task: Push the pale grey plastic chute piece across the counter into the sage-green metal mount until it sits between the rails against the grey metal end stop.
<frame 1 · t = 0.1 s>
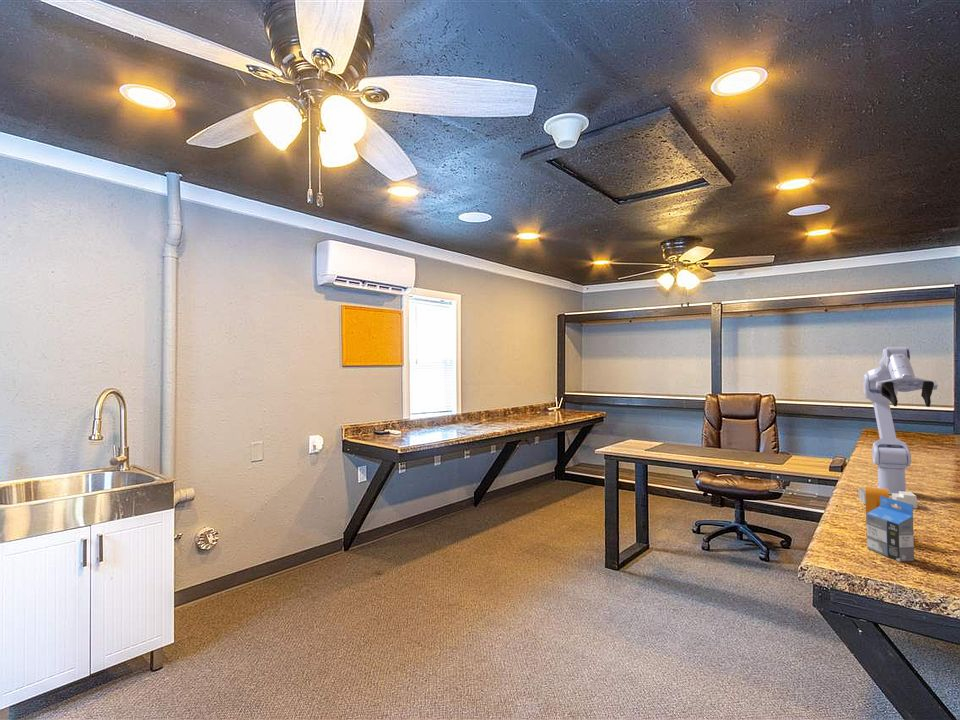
hand: (912, 404, 153), 32 cm above the counter, tool tilted 50°, fingers open, 7 cm apart
chute mount: (877, 502, 164), on the counter
ink cartridge box: (890, 555, 117), on the counter
chute piece: (904, 506, 160), on the counter
bracket: (884, 537, 130), on the counter
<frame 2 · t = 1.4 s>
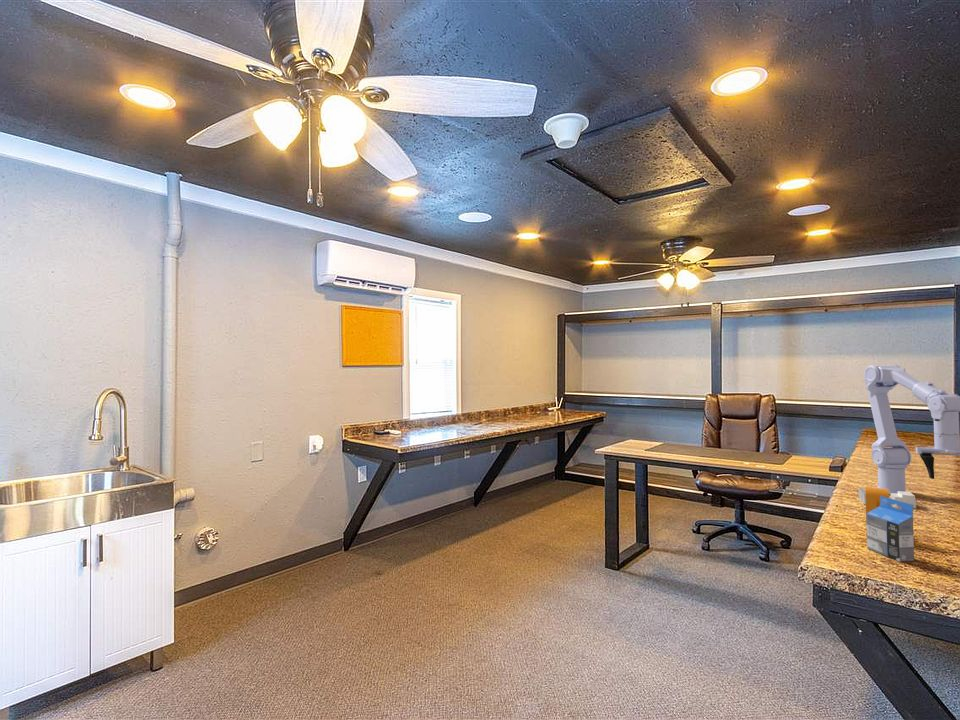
hand: (948, 479, 156), 9 cm above the counter, tool pointing down, fingers open, 7 cm apart
nothing on the counter moved.
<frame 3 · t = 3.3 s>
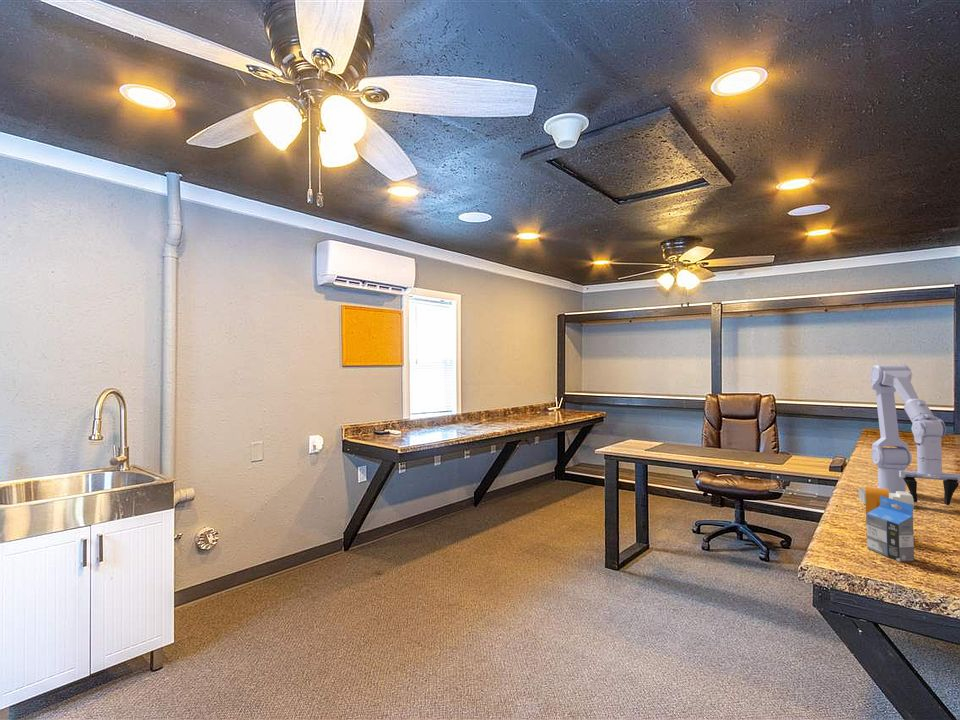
hand: (930, 503, 158), 1 cm above the counter, tool pointing down, fingers open, 7 cm apart
chute piece: (901, 505, 161), on the counter, touching gripper
everything else where it was.
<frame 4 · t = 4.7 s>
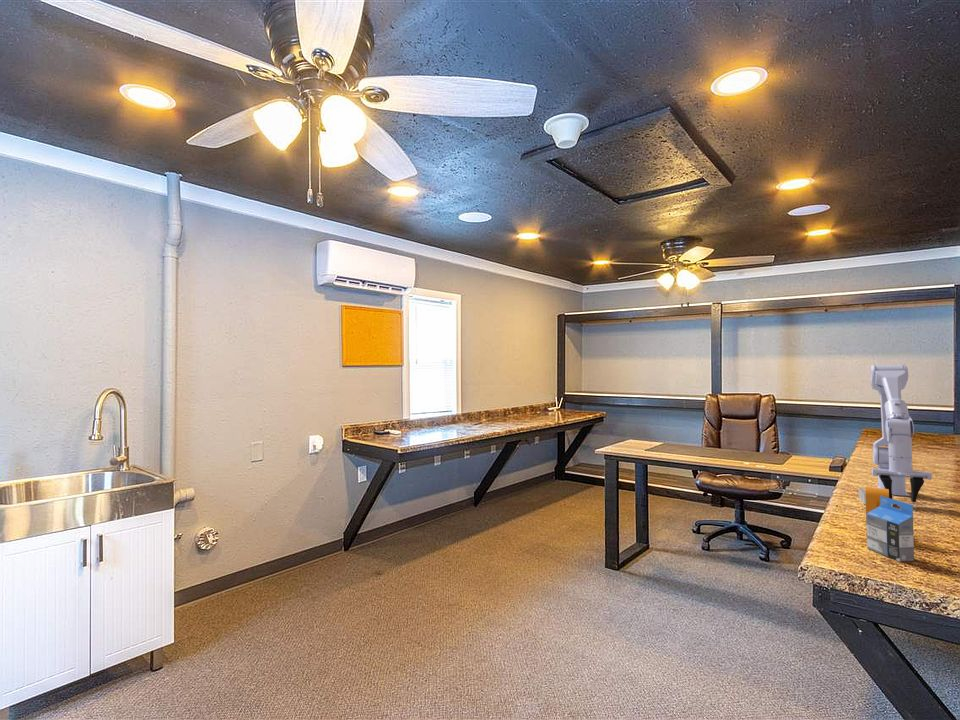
hand: (901, 500, 161), 1 cm above the counter, tool pointing down, fingers open, 5 cm apart
chute piece: (876, 502, 164), on the counter, touching chute mount, gripper
everything else where it was.
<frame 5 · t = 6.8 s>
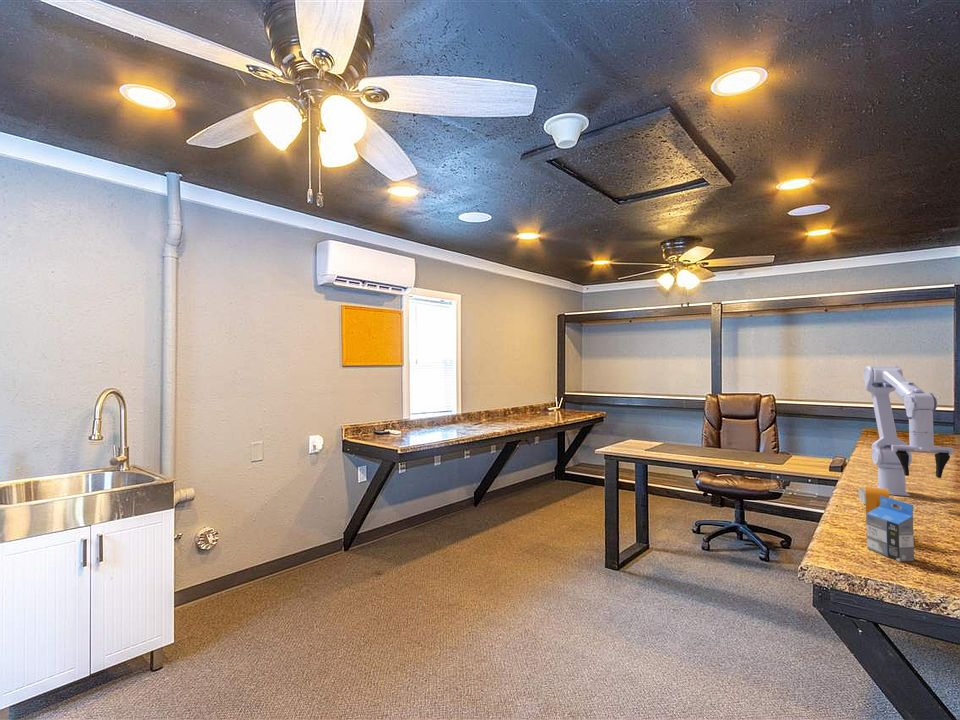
hand: (922, 476, 159), 9 cm above the counter, tool pointing down, fingers open, 7 cm apart
chute piece: (876, 503, 164), on the counter
everything else where it was.
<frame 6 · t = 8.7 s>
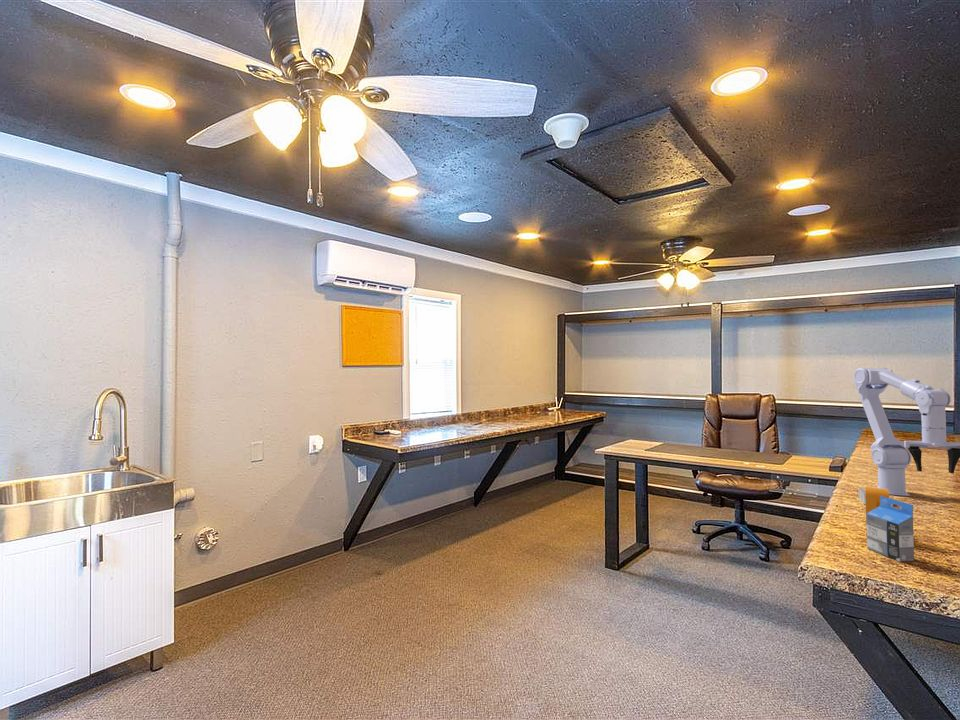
hand: (935, 471, 160), 10 cm above the counter, tool pointing down, fingers open, 7 cm apart
nothing on the counter moved.
at the end: chute piece 0.7 cm from the target spot, on the counter; chute piece tilted 0°; chute piece moved 7.3 cm from its start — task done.
